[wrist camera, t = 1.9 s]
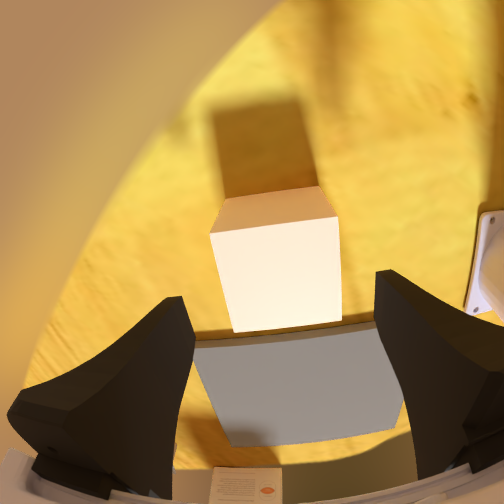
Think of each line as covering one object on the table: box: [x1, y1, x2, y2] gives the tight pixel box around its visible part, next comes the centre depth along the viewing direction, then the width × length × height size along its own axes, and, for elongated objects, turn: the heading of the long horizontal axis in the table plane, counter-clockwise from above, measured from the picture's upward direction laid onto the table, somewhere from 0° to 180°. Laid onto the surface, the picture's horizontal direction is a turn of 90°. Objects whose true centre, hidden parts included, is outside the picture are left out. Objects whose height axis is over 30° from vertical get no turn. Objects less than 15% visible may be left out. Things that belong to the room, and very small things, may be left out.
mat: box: [193, 321, 404, 447], centre depth 23 cm, size 16×14×1 cm
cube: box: [209, 186, 342, 333], centre depth 15 cm, size 5×5×5 cm
